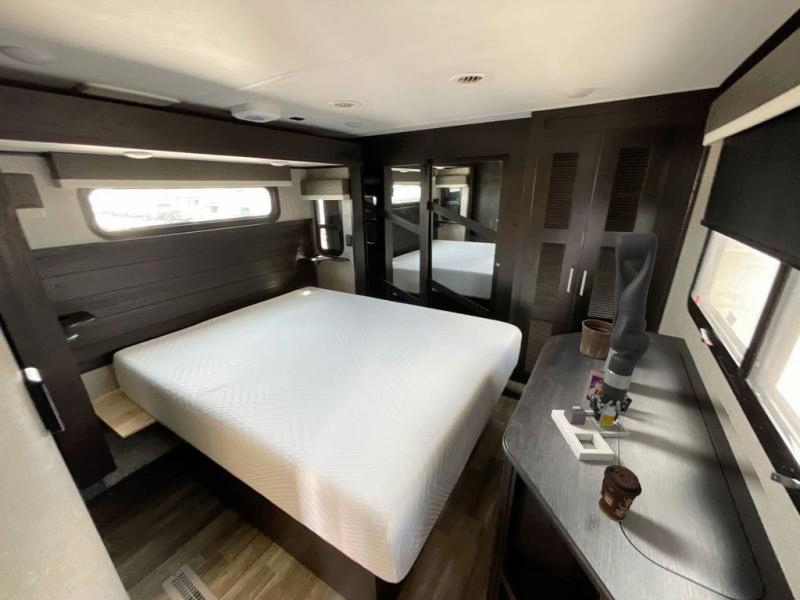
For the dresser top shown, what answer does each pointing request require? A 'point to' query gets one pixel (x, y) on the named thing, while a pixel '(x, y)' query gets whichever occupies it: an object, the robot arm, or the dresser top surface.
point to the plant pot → (595, 338)
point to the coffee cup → (618, 491)
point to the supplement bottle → (606, 417)
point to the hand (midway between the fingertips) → (604, 419)
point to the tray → (612, 434)
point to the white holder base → (581, 433)
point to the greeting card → (594, 384)
